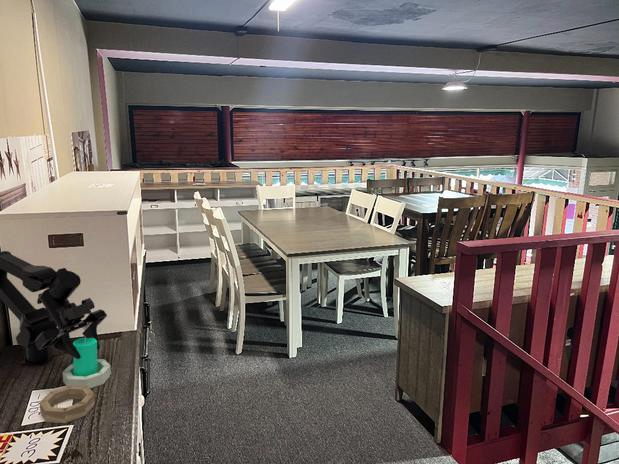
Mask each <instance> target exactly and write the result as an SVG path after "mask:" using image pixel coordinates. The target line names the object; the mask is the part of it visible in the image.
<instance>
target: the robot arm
mask: <svg viewBox="0 0 619 464" xmlns="http://www.w3.org/2000/svg"><path fill="white" fill-rule="evenodd" d="M8 274H9V275H11V276H14V277H16V278H17V279H19V280H21V282H22V286H23V287H24V288H25V289H26V290H28V291H29V292H30V293H36V292H40V291H42V290H43V292H40V293H38V297H37V299H36V303H37V304H38V305H40V304H42V305H43V306H44V307H40V308H38V309H37V308H36V307H35V306H34V305H33V304H32V303H31V302H30V301H29V300H28V299H27V298H26V297H25V295H23V293H22V292H21V291H20V290H19V288H17V287H16V286H15V285H14V284H13V283H12V282H11V280H10V279H9V278H8ZM81 281H82V280H81V277H80V276H79V274H77V273H75V272H73V271H72V270H67V268H66V267H62V268H58V269H57V271H56V270H55V269H54V268H52V267H50V266H47V265H34V264H31V263H29V262H28V261H26V260H24V259H21V258H19V257H18V256H15V255H13V254H12V253H11V252H10V251H8V250H3V251H0V300H1V301H2V302H3V304H4V305H5V306H6V307H7V308H8V309H9V310H10V312H11V313H12V314H13V315H14V316H15V317H16V318H17V320H18V321H19V332H18V334H17V335H16V336H15V339H16V344H17V345H19V346H20V347H21V346H22V348H23V357H24V358H23V359H24V360H22V361H20V364H21V365H30V366H43V365H45V364H46V363H48V362H49V361H50V360H51V359H52V358H53V357H54V356H55V353H54V351H53V348H55V349H57V350H59V351H62V352H64V353H66V354H68V355H69V356H71V357H72V358H73V357H75V358H76V359H80V357H81V356H80V354H79V352H78V351H77V349H76V348H75V346H74V345H73V341H72V340H71V336H70V333H72V332H76V331H77V330H80V329H83V330H84V331H83V332H82V335H83V336H84V338H95V339H96V340H97V351H99V350H100V342H99V338H98V337H99V336H98V330H97V329H98V326H99V325H100V324H101V323H102V322H103V321H104V320H105V318H107V317H108V314H107V312H105V310H103V309H98V310H95V311H92V309H95V307H96V306H95V303H94V301H93V300H92V299H91V297H88V298H85V299H82V300H81V304H79V305H76V303H75V302H70V300H69V298H70V297H71V296H72V295H73V293H75V291H76V290H77V289H78V287H80V285H81ZM86 315H87V316H86Z"/></svg>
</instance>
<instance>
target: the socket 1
mask: <svg viewBox="0 0 619 464" xmlns="http://www.w3.org/2000/svg"><path fill="white" fill-rule="evenodd" d="M111 368H112V367H111V364H110V363H109V362H107V360H106V359H102V358H97V373H95V374H92V375H89V376H74V362H72V363H70V365H69V366H68V367H66V368H65V369H64V370H63V371H62V382H63V383H64V385H65V387H66V386H69V385H73V386H88V387H89V388H90V389H92V388H96V387H98V386H101V385H104V384H105V383H106V382H107V381H108V379H109V378H110V377H111V376H112V372H111V371H112V369H111ZM110 375H111V376H110Z"/></svg>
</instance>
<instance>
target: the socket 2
mask: <svg viewBox="0 0 619 464" xmlns="http://www.w3.org/2000/svg"><path fill="white" fill-rule="evenodd" d="M69 400H77V401H78V400H79V401H80V400H81V401H80V402H78V403H75V404H73V405H69V406H66V407H55V405H58V404H61V403H63V402H66V401H69ZM94 406H95V393H94V391H92V388H89V387H88V386H73V385H69V386H66V385H65V386H64V387H61V388H58V389H55V390H52V391H49V393H47V394H46V395H45V396H44V397H43V398H42V399H41V400H40V401H39V413H40V416H41V417H42V418H43V419H44V421H45V423H50V424H51V423H53V424H54V423H55V424H67V423H69V422H73V421H74V420H77V419H80V418H82V417H85V416H87V415H88V413H89V412H90V411H91V410H92V409H93V407H94Z"/></svg>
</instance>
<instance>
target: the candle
mask: <svg viewBox="0 0 619 464" xmlns="http://www.w3.org/2000/svg"><path fill="white" fill-rule="evenodd" d="M72 343H73V345H74V346H75V348H76V349H77V351H78V352H79V354H80V356H81V357H80V359H76V358H75V357H73V356H72V358H73V363H74V376H89V375H92V374H95V373H98V371H97V359H98V350H97V340H96V339H95V338H85V337H80V338H77V339H76V340H74V341H72Z"/></svg>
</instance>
